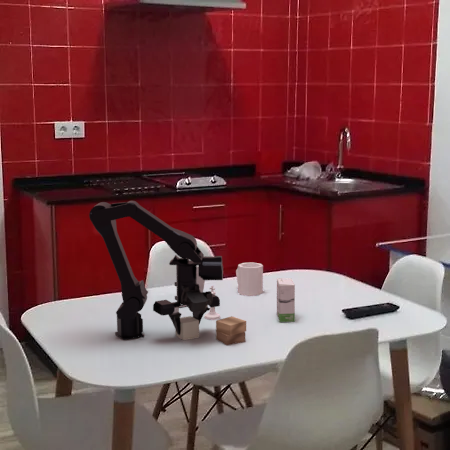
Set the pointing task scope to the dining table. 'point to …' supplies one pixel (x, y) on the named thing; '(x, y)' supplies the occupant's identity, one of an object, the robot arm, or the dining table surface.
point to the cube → (188, 328)
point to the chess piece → (212, 310)
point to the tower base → (230, 338)
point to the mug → (250, 279)
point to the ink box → (285, 300)
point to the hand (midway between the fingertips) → (187, 332)
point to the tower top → (231, 326)
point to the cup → (200, 281)
